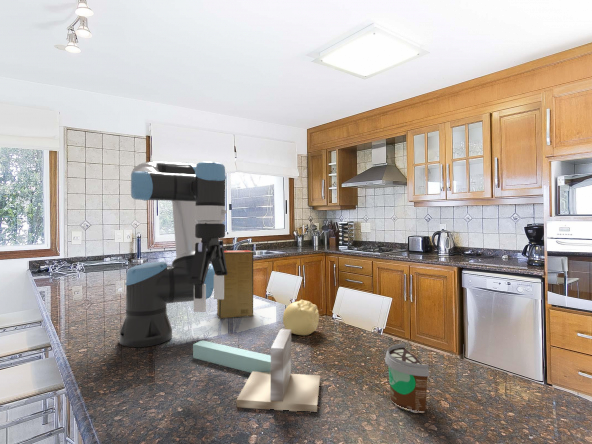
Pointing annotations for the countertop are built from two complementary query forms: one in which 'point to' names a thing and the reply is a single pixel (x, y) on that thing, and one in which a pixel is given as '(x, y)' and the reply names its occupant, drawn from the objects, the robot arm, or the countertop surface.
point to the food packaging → (237, 285)
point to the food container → (407, 378)
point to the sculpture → (301, 317)
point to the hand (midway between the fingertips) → (210, 304)
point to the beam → (232, 357)
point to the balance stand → (280, 383)
